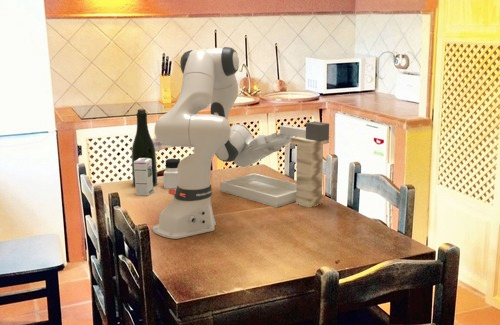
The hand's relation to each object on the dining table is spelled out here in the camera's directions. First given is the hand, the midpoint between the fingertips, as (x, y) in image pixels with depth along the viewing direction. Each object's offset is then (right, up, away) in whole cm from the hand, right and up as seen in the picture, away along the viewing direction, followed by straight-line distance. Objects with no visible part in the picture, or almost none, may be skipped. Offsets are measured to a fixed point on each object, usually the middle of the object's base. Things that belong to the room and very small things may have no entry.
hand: (284, 133), depth 238 cm
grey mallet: (+7, -2, -7) cm, 10 cm away
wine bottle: (-59, -21, +26) cm, 68 cm away
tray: (-7, -24, +11) cm, 28 cm away
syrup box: (-57, -25, +13) cm, 63 cm away
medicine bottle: (-46, -22, +23) cm, 56 cm away
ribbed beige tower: (+9, -28, -3) cm, 29 cm away
